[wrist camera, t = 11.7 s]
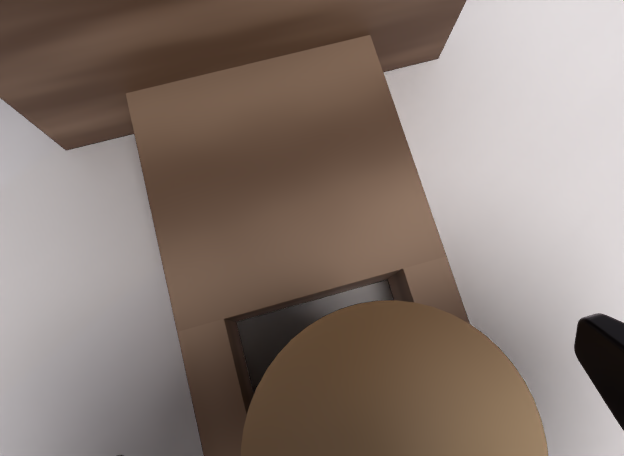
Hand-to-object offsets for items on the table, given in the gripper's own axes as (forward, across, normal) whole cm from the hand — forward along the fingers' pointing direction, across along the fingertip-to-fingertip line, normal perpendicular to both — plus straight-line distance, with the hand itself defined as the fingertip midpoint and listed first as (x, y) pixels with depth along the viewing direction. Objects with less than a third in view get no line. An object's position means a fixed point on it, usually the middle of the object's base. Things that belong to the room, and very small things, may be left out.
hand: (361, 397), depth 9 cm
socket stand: (+9, 0, +4) cm, 10 cm away
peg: (+6, 0, +7) cm, 9 cm away
